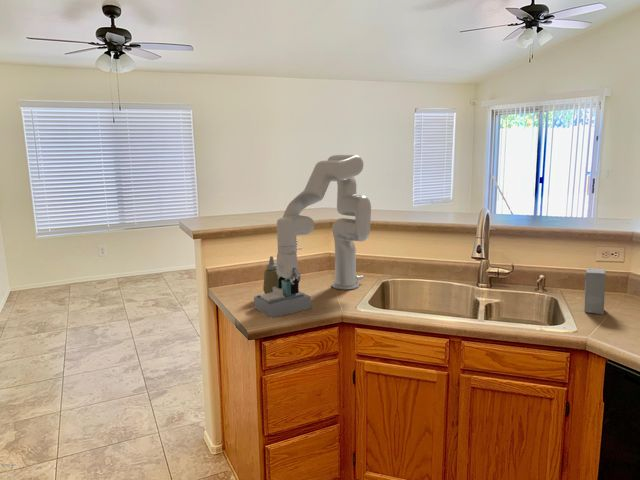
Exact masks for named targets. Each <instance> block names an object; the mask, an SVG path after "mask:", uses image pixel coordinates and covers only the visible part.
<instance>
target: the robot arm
mask: <svg viewBox="0 0 640 480" xmlns="http://www.w3.org/2000/svg"><path fill="white" fill-rule="evenodd" d="M363 170H364V161H363V159H362V157H361V156H359V155H357V154H334V155H330V156H329V157H328V159H327V160H320V161H318V162H317V163H316V164H315V166H314V168H313V169H312V172H311V175H310V176H309V178H308V181H307V183H306V185H305V187H304V189H303V190H302V191H301V192H300V193H299V194H297V195H296V196H295V197H294V198H293V199H292V200H291V201H290V202H289V203H288V205H287V206H286V209H285V211H284V213H283V215H282V217H281V218H279V219H277V220H276V235H277V236H276V237H277V238H276V240H277V241H276V242H277V252H276V253H277V254H276V264H277V265H276V271H277V275H278V284H279V288H282V280H286V279H290V281H291V283H292V284H291V294H296V293H299V291H300V290H299V288H300V287H299V284H300V281H301V278H302V277H301V275H302V274H301V273H300V272H299V263H298V256H297V253H298V250H297V249H298V248H297V246H298V245H297V244H298V243H297V236H298V235H299V236H301V235H304V236H305V235H306V236H307V235H309V234H311V233H312V232H313V231H314V229H315V221H314V219H313V218H311V217H310V216H307V215H301V214H300V213H301V212H302V211H303V210H305V209H306V208H308V207H309V206H311V205H312V206H313V205H314V204H317V203H319V202H321V201H322V200H323V199H324V197H325V196H326V195H325V194H326V192H327V190H328V188H329V185H330V184H331V182H336V184H337V193H336V196H337V198H336V210H337V212H338V214H340V215H341V216H347V217H342V218H337V219H336V220H335V221H334V222H333V224H332V229H331V230H332V235H333V241H334V266H335V267H334V277H335V278H334V281H333V282H332V283H331V286H332V288H334V289H338V290H347V291H348V290H354V289H357V288H359V286H360V282H358V281H361V280H364V279H365V277H364V275H357V272H356V271H357V270H356V268H357V265H356V263H357V262H356V259H357V258H356V257H357V255H356V254H357V252H356V251H357V248H356V246H355V243H354V242H365V241H366V240H368V238H369V236H370V232H371V217H372V205H371V201H370V199H369V197H367V195H366V196H365V195H363V194H362V195H361V194H357V180H356V178H355V177H356V176H359V175H360V174H361V172H363ZM348 216H350V217H355V218H348ZM293 280H294V281H293Z"/></svg>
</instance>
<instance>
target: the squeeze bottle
mask: <svg viewBox="0 0 640 480" xmlns="http://www.w3.org/2000/svg"><path fill="white" fill-rule="evenodd" d="M276 265H277V263H275V259H274V256H270V257H269V261H268V263H267V264H266V266H265V267H266V269H264V272H263V273H264V275H263V287H262V288H263V294H267V293H271V292H273V287H277V288H279V284H278V275H277V271H276ZM279 289H282V288H279Z"/></svg>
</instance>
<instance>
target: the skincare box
mask: <svg viewBox="0 0 640 480" xmlns="http://www.w3.org/2000/svg"><path fill="white" fill-rule="evenodd" d="M606 271H607V269H601V268H600V269H598V268H597V269H596V268H587V269H586V270H585V279H584V280H585V281H584V313H589V314H597V315H604V313H605V291H606V276H607V275H606Z"/></svg>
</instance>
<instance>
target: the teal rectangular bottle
mask: <svg viewBox="0 0 640 480" xmlns="http://www.w3.org/2000/svg"><path fill="white" fill-rule="evenodd" d="M294 280H295V279H293V281H294ZM291 284H292V283H291V281H290V279H286V280H282V290H283V296H285V297H289V296H294V295H296V294H291Z"/></svg>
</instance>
